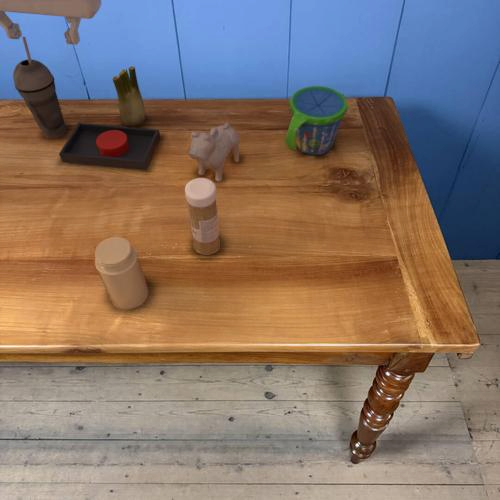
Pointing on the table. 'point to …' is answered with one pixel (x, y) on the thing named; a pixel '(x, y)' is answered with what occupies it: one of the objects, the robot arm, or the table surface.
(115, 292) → the jar
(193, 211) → the sprinkles bottle
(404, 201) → the table surface
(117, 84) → the fennel bulb
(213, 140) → the dog figurine
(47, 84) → the beverage cup
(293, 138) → the snack cup
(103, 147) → the lid
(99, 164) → the tray
